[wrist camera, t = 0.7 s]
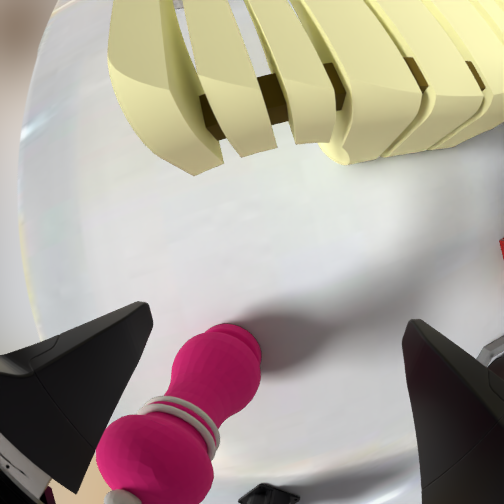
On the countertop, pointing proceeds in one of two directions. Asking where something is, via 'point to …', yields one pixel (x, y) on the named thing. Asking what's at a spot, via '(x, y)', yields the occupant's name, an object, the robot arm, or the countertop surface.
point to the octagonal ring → (491, 351)
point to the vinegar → (498, 367)
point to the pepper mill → (181, 422)
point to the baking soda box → (502, 246)
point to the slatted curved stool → (309, 76)
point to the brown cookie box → (178, 4)
